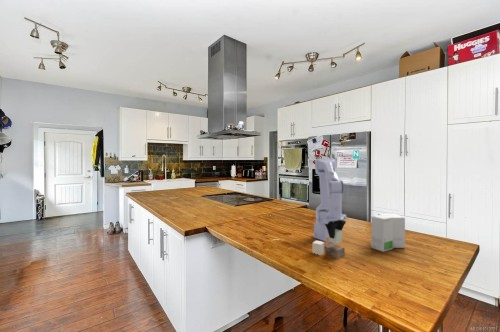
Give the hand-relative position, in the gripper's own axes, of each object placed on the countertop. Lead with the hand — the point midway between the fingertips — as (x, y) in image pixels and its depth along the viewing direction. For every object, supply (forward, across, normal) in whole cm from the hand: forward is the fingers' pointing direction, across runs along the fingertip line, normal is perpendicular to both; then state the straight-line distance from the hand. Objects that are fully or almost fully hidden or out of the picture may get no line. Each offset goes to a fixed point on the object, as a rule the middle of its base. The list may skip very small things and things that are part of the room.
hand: (334, 236), depth 104 cm
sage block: (+2, 0, 0) cm, 2 cm away
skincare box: (+9, +25, -8) cm, 28 cm away
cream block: (+9, -4, +6) cm, 11 cm away
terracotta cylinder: (+8, +6, +7) cm, 13 cm away
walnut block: (+9, 0, 0) cm, 9 cm away
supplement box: (+9, +34, -9) cm, 36 cm away
